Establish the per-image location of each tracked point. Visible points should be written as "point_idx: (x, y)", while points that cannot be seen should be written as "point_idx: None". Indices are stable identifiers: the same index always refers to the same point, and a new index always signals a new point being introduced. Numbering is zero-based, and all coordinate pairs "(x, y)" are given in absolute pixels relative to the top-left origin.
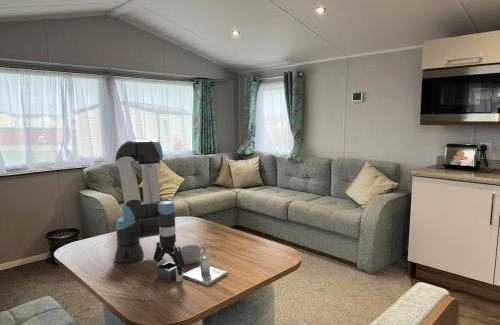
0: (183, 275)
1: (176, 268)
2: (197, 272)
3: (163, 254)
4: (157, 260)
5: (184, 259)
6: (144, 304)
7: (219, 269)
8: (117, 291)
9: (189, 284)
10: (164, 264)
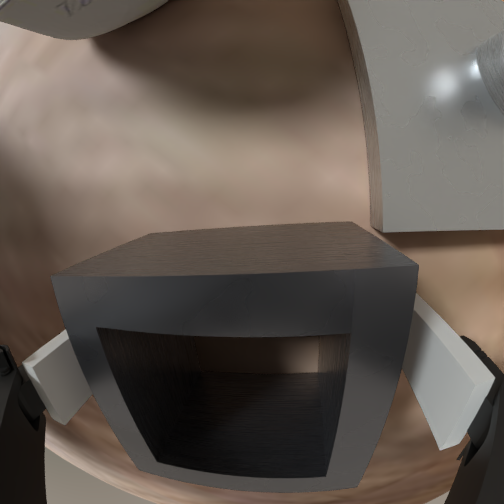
0: (385, 229)
1: (447, 443)
2: (465, 98)
3: (14, 494)
4: (41, 432)
5: (111, 8)
6: (369, 501)
7: (501, 2)
8: (176, 495)
9: (493, 288)
10: (123, 411)
